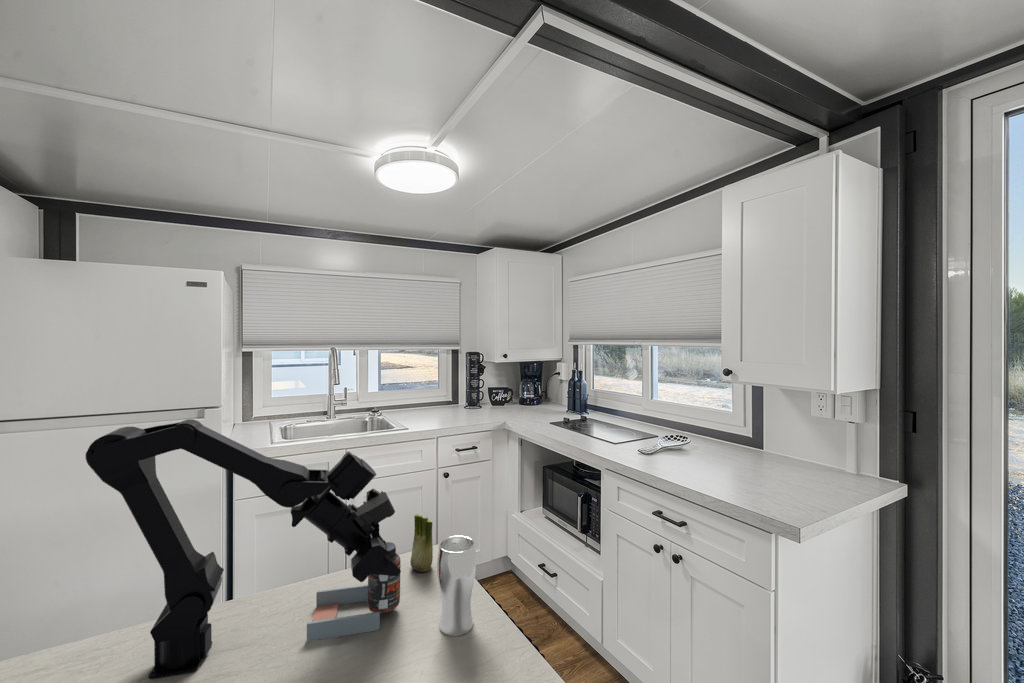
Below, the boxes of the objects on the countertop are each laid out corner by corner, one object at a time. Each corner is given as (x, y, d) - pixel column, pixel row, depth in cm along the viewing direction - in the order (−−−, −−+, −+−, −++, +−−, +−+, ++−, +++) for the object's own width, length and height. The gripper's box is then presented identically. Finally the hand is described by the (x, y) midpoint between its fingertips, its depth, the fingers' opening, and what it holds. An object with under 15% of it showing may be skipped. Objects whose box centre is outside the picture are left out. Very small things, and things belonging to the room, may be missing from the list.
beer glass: (480, 616, 82) (480, 537, 82) (468, 641, 76) (468, 555, 75) (445, 610, 84) (446, 533, 84) (430, 634, 77) (431, 550, 77)
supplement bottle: (390, 617, 80) (391, 556, 79) (361, 612, 81) (361, 552, 81) (405, 598, 85) (406, 540, 85) (377, 593, 87) (378, 537, 86)
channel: (306, 641, 75) (306, 624, 75) (316, 606, 85) (316, 591, 85) (379, 629, 78) (379, 613, 78) (381, 597, 88) (381, 582, 88)
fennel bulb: (435, 573, 97) (435, 519, 97) (412, 577, 95) (413, 523, 95) (429, 560, 102) (430, 510, 102) (408, 564, 101) (408, 513, 100)
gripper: (374, 500, 73) (438, 552, 78) (362, 468, 90) (415, 513, 95) (323, 556, 70) (392, 607, 75) (320, 512, 87) (377, 556, 92)
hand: (396, 565), depth 84 cm, fingers closed on supplement bottle, 6 cm apart
